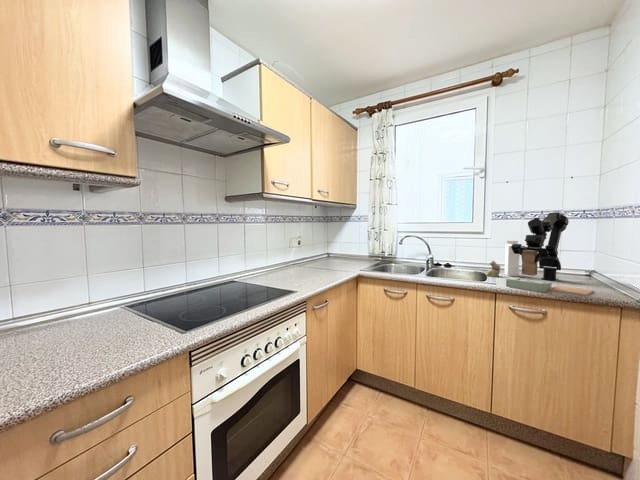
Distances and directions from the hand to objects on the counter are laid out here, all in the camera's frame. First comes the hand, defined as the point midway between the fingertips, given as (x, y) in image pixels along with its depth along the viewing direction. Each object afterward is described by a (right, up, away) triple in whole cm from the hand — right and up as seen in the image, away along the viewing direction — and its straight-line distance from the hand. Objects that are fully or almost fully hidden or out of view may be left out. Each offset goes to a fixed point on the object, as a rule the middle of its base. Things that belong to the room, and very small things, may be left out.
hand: (528, 262), depth 136 cm
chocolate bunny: (+2, -12, +30) cm, 33 cm away
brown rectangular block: (+1, -7, +1) cm, 7 cm away
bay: (+1, -13, +2) cm, 13 cm away
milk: (+14, -11, +31) cm, 36 cm away
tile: (+15, -13, -8) cm, 21 cm away
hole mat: (+8, -12, +11) cm, 18 cm away
